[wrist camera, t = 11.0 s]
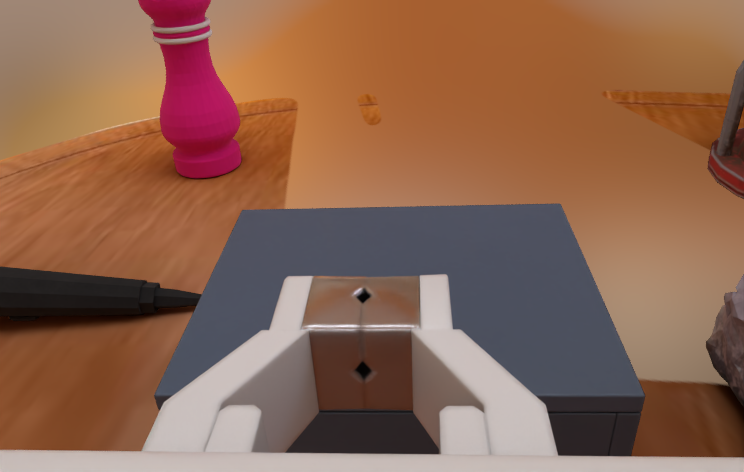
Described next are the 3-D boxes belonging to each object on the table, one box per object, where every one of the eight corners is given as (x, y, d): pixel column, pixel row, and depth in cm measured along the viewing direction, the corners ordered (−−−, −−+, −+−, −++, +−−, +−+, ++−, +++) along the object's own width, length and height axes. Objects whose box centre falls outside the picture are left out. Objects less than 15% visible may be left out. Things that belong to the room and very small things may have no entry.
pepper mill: (244, 177, 58) (203, -61, 47) (165, 185, 57) (106, -54, 47) (248, 147, 64) (212, -69, 54) (177, 153, 63) (126, -63, 53)
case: (262, 350, 37) (240, 230, 33) (546, 348, 36) (562, 224, 32) (203, 552, 26) (158, 412, 22) (606, 559, 25) (642, 413, 21)
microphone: (213, 325, 44) (-83, 314, 43) (214, 246, 43) (-92, 232, 41) (197, 358, 39) (-143, 346, 37) (197, 269, 37) (-155, 253, 36)
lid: (244, 222, 33) (241, 209, 33) (559, 216, 32) (560, 202, 32) (158, 411, 22) (152, 395, 22) (642, 412, 21) (646, 395, 20)
